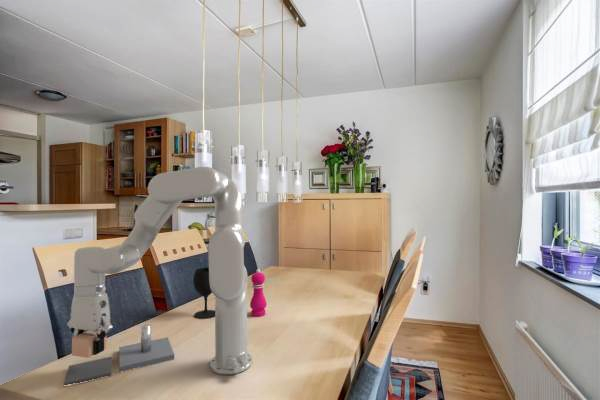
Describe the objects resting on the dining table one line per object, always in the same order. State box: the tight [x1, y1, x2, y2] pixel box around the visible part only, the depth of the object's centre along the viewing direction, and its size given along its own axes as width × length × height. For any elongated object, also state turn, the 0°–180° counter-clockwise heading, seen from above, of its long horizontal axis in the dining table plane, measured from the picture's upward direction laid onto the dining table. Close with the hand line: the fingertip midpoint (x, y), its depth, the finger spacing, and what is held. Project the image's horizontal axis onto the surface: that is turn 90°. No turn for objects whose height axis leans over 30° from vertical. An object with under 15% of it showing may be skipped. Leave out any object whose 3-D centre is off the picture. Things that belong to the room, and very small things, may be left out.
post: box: [140, 323, 152, 353], centre depth 102 cm, size 3×3×8 cm
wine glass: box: [192, 267, 215, 320], centre depth 139 cm, size 10×10×20 cm
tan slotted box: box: [71, 330, 108, 359], centre depth 92 cm, size 6×6×5 cm
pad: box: [63, 356, 113, 386], centre depth 92 cm, size 11×11×1 cm
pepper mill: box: [249, 268, 267, 318], centre depth 139 cm, size 7×7×20 cm
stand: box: [118, 337, 175, 372], centre depth 102 cm, size 15×15×2 cm
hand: (89, 350), depth 92 cm, fingers closed on tan slotted box, 5 cm apart
